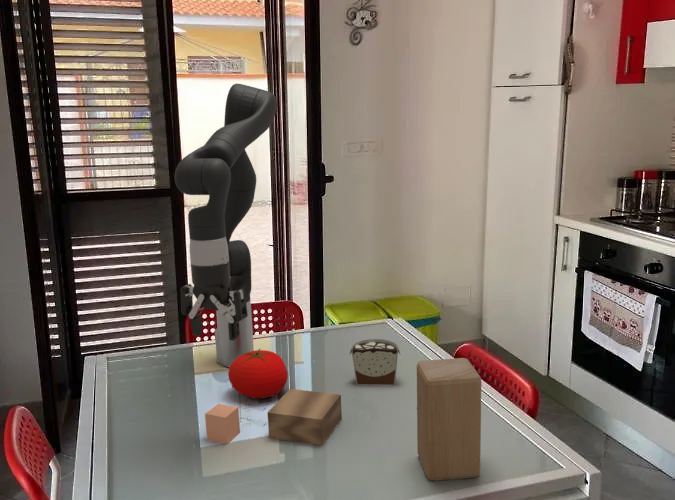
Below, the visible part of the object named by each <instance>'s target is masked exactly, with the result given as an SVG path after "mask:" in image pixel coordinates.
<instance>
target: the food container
mask: <svg viewBox="0 0 675 500" xmlns="http://www.w3.org/2000/svg"><path fill="white" fill-rule="evenodd" d="M400 352H401V351H400V348H399V346H398V344H397V343H396V342H394V341H392V340H389V339H382V338H368V339H362V340H359V341H356V342H354V343H353V344H351V348H350V350H349V355H351V356H352V362H353V364H352V365H353V369H354V376H355V383H356V386H373V385H374V386H376V387H377V386H378V387H379V386H380V387H381V386H384V387H385V386H386V387H387V386H389V387H390V386H391V387H395V386H396V378H397V377H396V376H397V367H398V365H397V364H398V356H399V355H401V353H400ZM398 354H399V355H398Z"/></svg>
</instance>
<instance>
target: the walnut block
mask: <svg viewBox="0 0 675 500" xmlns="http://www.w3.org/2000/svg"><path fill="white" fill-rule="evenodd" d="M342 413H343V412H342V394H338V393H329V392H321V391H313V390H303V389H295V388H289V389H288V391H286V393H284V395H283V396H282V397H281V398H280V399H279V400H277V402H276V403H274V405H273V406H272V407H271V408H270V409H269V410H268V412H267V424H268V425H267V428H268V438H269V439H275V440H276V439H277V440H283V441H289V442H295V441H296V442H295V443H302V442H303V444H308V443H310V444H311V445H315V444H316V445H317V446H324V445H325V443H326V442H327V440H329V437H330V436H331V435H332V433H333V432H334V431H335V429H336V428H335V427H337V426H338V425H337V424H339V423H340V422H341V421H340V420H342ZM339 421H340V422H339ZM336 425H337V426H336ZM334 428H335V429H334ZM332 431H333V432H332ZM330 434H331V435H330Z"/></svg>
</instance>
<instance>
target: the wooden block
mask: <svg viewBox="0 0 675 500" xmlns="http://www.w3.org/2000/svg"><path fill="white" fill-rule="evenodd" d="M416 417H417V418H416V419H417V420H416V421H417V422H416V425H417V427H416V428H417V430H416V431H417V433H416V434H417V435H416V436H417V438H416V439H417V442H416V444H417V446H416V447H417V450H416V451H417V455H418V457H419V461H420V462H421V465H422V468H423V471H424V473H425V475H426V477H427V479H428V480H429V481H432V482H433V481H446V480H457V479H458V480H459V479H469V478H477V477H480V474H481V443H482V441H481V440H482V439H481V436H482V435H481V434H482V431H481V430H482V427H481V426H482V425H481V423H482V422H481V421H482V377H481V375H479V373H478V371H477V370H476V368H475V367H474V366H473V364H472V363H471V362H470V360H469V359H468V358H465V357H457V358H456V357H455V358H441V359H429V360H425V359H424V360H419V361H417V365H416Z"/></svg>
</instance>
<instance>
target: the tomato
mask: <svg viewBox="0 0 675 500" xmlns="http://www.w3.org/2000/svg"><path fill="white" fill-rule="evenodd" d="M227 374H228V380H229V383H230V385H231V387H232V388H233V389H234V390H235V391H236V392H237V393H239V394H241V395H243V396H244V397H248V398H251V399H258V400H259V399H266V398H270V397H273V396H275V395H277V394H279V393H280V392H281V391H282V390H283V389H284V388H285V386H286V384H287V380H288V377H289V374H288V370H287V366H286V363H285V362H284V360H283V358H282V357H281V356H280V355H279V354H277V353H275V352H273V351H271V350H264V349H261V348H259V349H258V350H254V351H251V352H248V353H243V355H241V356H239V357H237V358H236V359H235V360H234V361H233V362H232V364H231V365H230V367H228V373H227Z"/></svg>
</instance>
